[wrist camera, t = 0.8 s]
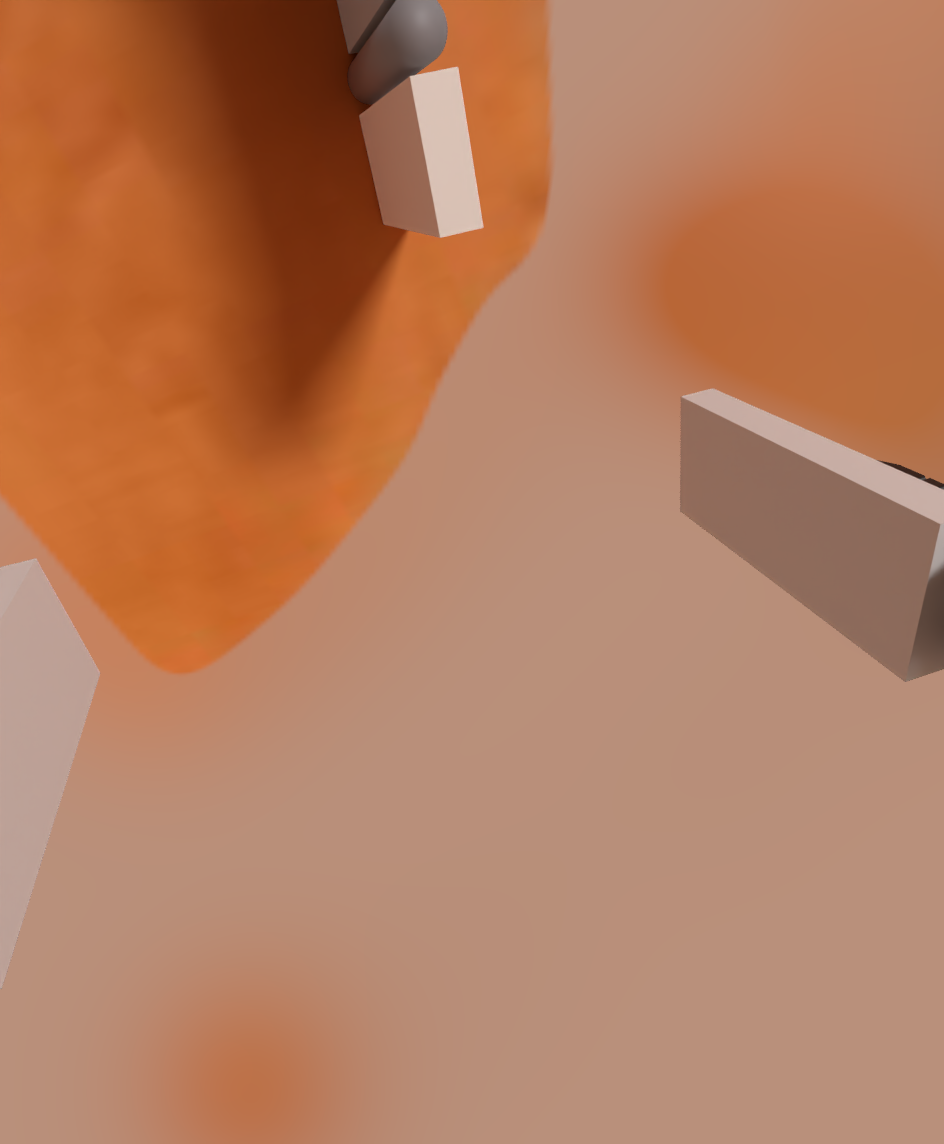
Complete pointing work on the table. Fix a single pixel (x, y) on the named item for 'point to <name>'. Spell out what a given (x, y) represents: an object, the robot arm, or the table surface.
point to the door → (390, 42)
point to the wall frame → (423, 156)
